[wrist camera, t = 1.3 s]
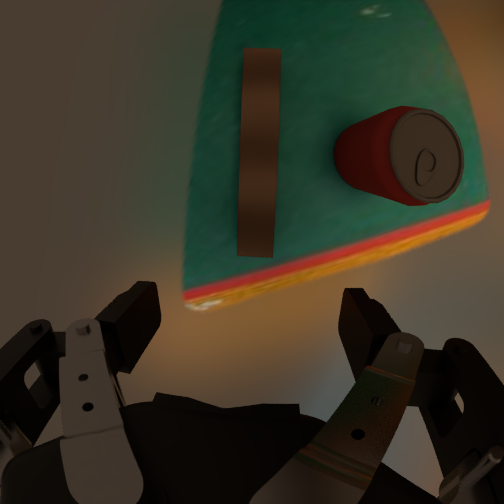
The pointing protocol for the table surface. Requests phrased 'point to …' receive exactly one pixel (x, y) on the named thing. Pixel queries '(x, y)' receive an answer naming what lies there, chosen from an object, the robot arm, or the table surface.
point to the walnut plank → (258, 152)
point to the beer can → (402, 156)
